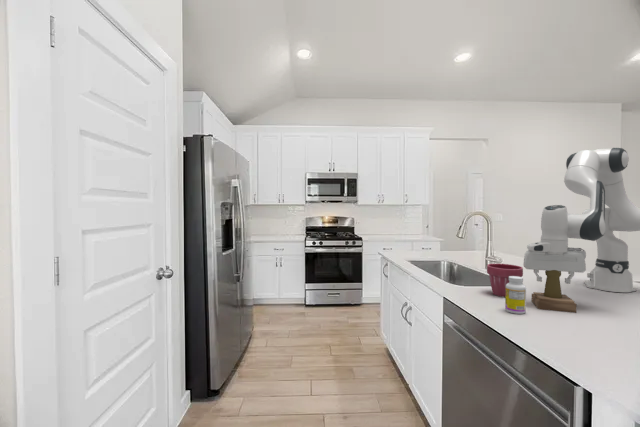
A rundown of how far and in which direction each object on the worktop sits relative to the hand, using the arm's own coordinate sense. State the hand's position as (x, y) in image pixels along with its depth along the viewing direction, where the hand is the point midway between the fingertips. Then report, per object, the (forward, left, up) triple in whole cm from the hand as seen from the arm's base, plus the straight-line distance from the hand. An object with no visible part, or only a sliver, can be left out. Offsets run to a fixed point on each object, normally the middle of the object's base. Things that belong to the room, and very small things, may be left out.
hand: (553, 282), depth 135 cm
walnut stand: (0, 0, -10) cm, 10 cm away
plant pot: (-14, -15, -10) cm, 23 cm away
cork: (0, 0, -6) cm, 6 cm away
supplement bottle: (+13, -15, -10) cm, 22 cm away
